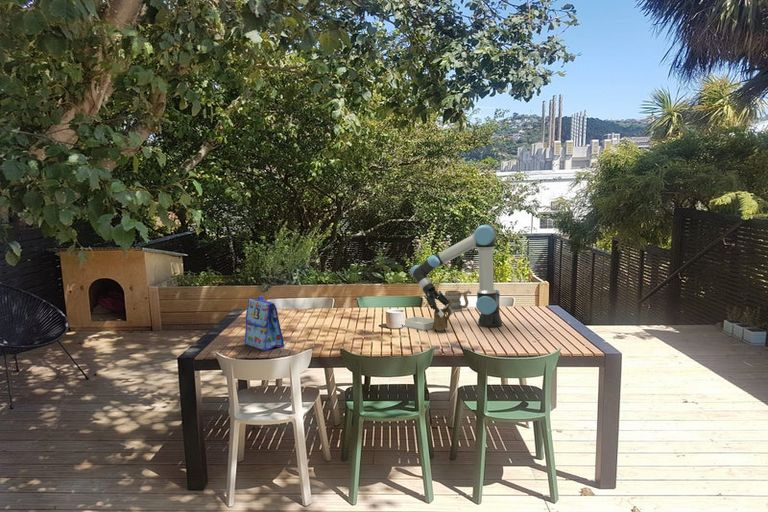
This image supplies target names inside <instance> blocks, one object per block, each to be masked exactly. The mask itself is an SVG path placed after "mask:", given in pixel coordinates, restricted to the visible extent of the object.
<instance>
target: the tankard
mask: <svg viewBox="0 0 768 512" xmlns="http://www.w3.org/2000/svg"><path fill="white" fill-rule="evenodd" d="M468 294H469V295H471V294H472V291H470V290H469V289H468V290H467V291H464V292H461V291H459V290H446V291H445V292H444V294H443V295H444V296H445V297H446V298H447V300H448V301H449V302H450V301H451V300H452V299H454V300H453V302H452V304H451V305H450V307H451V309H452V310H453V312H454V313H459V312H461V311H462V310H463V309H467V307H468V306H469V299H468V296H467V295H468ZM461 295H462V296H463V299H464V302H465V303H464V305H462V301H461V298H462V296H461Z"/></svg>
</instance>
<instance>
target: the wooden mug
mask: <svg viewBox="0 0 768 512" xmlns="http://www.w3.org/2000/svg"><path fill="white" fill-rule="evenodd" d="M453 300H454V299H452V300H451V301H450V303H449V304H448V306H447V308H445V307H443V308H440V310H441V311H442V312H443V314H444V315H443V317H442V318H441V317H440V316H439V314H438V313H437V312H436V310H435V309H434V312H433V319H434V324H433V329H434V330H446V329H447V328H448V327H449V326H448V320H449V319H450V317H451V316H452V315H451V311H450V309H449V306H450V305H451V304H452V302H453Z"/></svg>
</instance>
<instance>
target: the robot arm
mask: <svg viewBox="0 0 768 512" xmlns="http://www.w3.org/2000/svg"><path fill="white" fill-rule="evenodd" d="M497 232H498V231H497V229H496V227H495V226H493V225H492V224H489V223H485V224H482V225H479V226H478V227H476V229H475V230H474V231H473V232H472V235H469V236H468V237H466V238H464V239H461V240H460V241H459V242H457V243H455V244H454V245H451V246H449V247H448V248H446V249H443V250H442V251H441V252H439V253H437V254H435V255H434V254H431V255H430V256H429V257H428V258H427V259H425V260H424V261H423V262H422V263H421V264H415V265H413V266H412V267H411V268H410V270H409V272H410V275H411V277H412V278H413V279H414V280H415V282H416V283H417V285H418V286H419V288H421V290H422V292H423V293H424V294H425V295H424V296H423V297H424V298H425V300H426V301H427V303H428V305H429V308H430V310H431V309H432V310H433V311H435V310H436V312H437V313H438V314H439V316H440V317H441V318H442V317H443V315H444V314H443V312H442V311H441V310H440V309H441V308H440V307H439V306H438V305H437V301H438V302H440V303H441V304H442V305H443V306H444V308H447V306H448V304H449V303H450V302H449V301H448V300H447V298H446V297H445V296H444V295H445V294H443V293H442V291H441V290H439V291H438V290H436V286H435V285H434V284H433V282H432V281H431V279H430V278H429V277H428V275H429V274H430V273H432V272H433V271H434V270H435V269H437V268H440V267H441V266H443V265H444V264H446V263H448V262H450V261H451V260H453V259H455V258H457V257H459V256H461V255H463V254H465V253H468V252H469V251H470V250H472V249H475V248H476V249H477V252H478V256H477V257H478V280H479V281H478V282H479V285H478V286H479V287H478V288H479V289H478V290H477V292H476V299H477V300H476V301H475V302H476V303H475V304H476V305H475V306H476V310H477V311H478V312H480V315H479V318H478V321H477V324H478V325H477V326H479V327H482V328H488V329H495V328H500V327H501V328H502V326H503V321H502V316H501V315H500V290H498V289H495V287H494V286H495V284H494V282H495V281H494V251H493V250H494V249H495V248H496V238H497V234H498V233H497ZM436 300H437V301H436ZM449 309H450V311H451V315H450V316H452V315H453V314H454V313H455V312H453V310H452V309H451V307H450V306H449Z"/></svg>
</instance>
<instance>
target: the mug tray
mask: <svg viewBox="0 0 768 512" xmlns="http://www.w3.org/2000/svg"><path fill="white" fill-rule="evenodd" d="M404 319H405V325H404V326H403V327H405V328H410V329H414V330H419V331H424V332H426V331H429V330H432V329H434V328H433V324H434V318H429V317H428V318H427V317H424V316H423V317H422V316H417V315H416V316H411V317H408V318H404Z"/></svg>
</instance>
